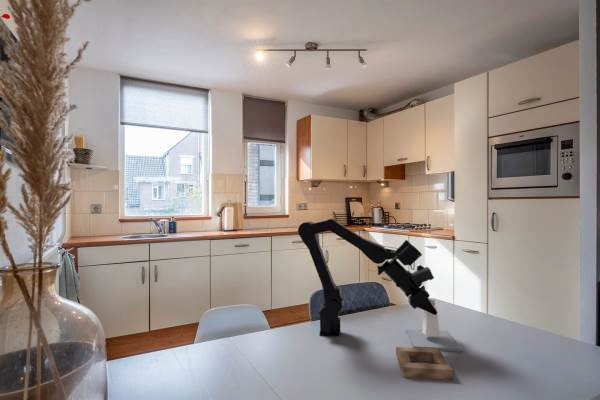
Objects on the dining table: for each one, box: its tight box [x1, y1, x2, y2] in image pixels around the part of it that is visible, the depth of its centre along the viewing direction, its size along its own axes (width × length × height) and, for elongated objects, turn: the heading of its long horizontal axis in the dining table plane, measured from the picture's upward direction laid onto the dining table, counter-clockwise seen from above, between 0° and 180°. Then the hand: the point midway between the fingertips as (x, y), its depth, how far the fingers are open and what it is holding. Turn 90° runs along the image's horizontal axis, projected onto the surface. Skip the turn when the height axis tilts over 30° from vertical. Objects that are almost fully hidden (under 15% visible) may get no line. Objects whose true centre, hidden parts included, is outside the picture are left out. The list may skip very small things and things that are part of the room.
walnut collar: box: [395, 346, 454, 381], centre depth 88 cm, size 12×12×2 cm
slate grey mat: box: [404, 328, 463, 352], centre depth 105 cm, size 14×14×1 cm
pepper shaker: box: [421, 297, 441, 337], centre depth 105 cm, size 5×5×11 cm
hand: (435, 311), depth 105 cm, fingers closed on pepper shaker, 4 cm apart
